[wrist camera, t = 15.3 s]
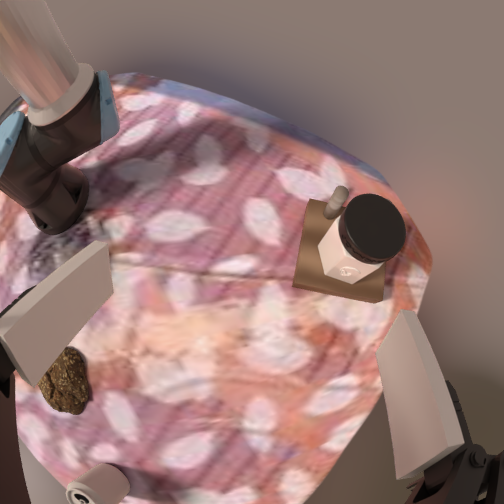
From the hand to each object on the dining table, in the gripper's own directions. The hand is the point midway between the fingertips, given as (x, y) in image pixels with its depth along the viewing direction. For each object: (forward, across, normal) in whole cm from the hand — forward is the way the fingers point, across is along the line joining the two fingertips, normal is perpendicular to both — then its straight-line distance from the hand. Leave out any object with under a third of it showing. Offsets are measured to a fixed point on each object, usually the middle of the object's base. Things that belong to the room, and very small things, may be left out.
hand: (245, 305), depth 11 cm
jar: (+28, +12, -10) cm, 32 cm away
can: (-4, -17, -46) cm, 49 cm away
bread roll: (+8, -30, -35) cm, 46 cm away
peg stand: (+31, +12, -10) cm, 35 cm away
